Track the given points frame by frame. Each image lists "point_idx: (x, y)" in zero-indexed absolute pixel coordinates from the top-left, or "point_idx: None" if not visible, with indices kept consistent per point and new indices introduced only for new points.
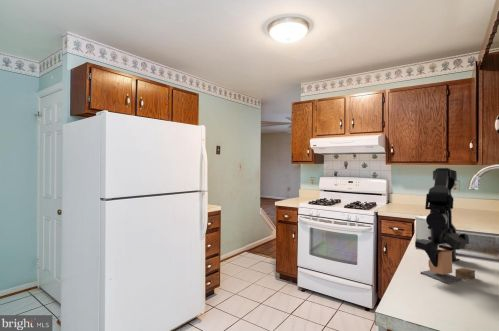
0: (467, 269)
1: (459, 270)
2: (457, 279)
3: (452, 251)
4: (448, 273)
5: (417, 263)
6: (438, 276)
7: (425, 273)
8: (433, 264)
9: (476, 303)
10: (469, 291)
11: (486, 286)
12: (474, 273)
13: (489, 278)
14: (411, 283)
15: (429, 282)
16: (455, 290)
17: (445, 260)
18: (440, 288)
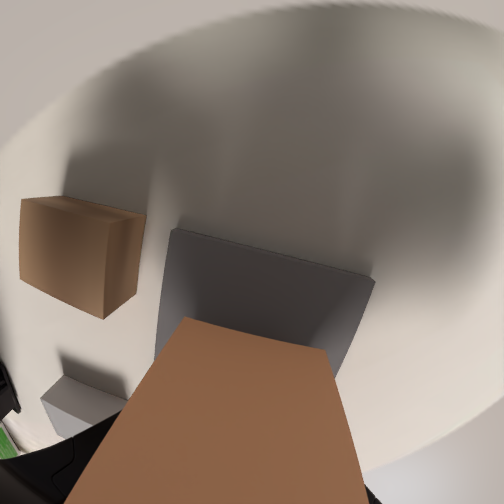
0: (35, 246)
1: (104, 282)
2: (228, 248)
3: (9, 471)
4: (240, 332)
5: None
6: None
7: None
8: None
9: (491, 74)
10: (385, 112)
11: (159, 76)
12: (39, 198)
13: (18, 152)
14: (480, 375)
15: (424, 348)
16: (444, 186)
17: (287, 459)
18: (473, 263)
